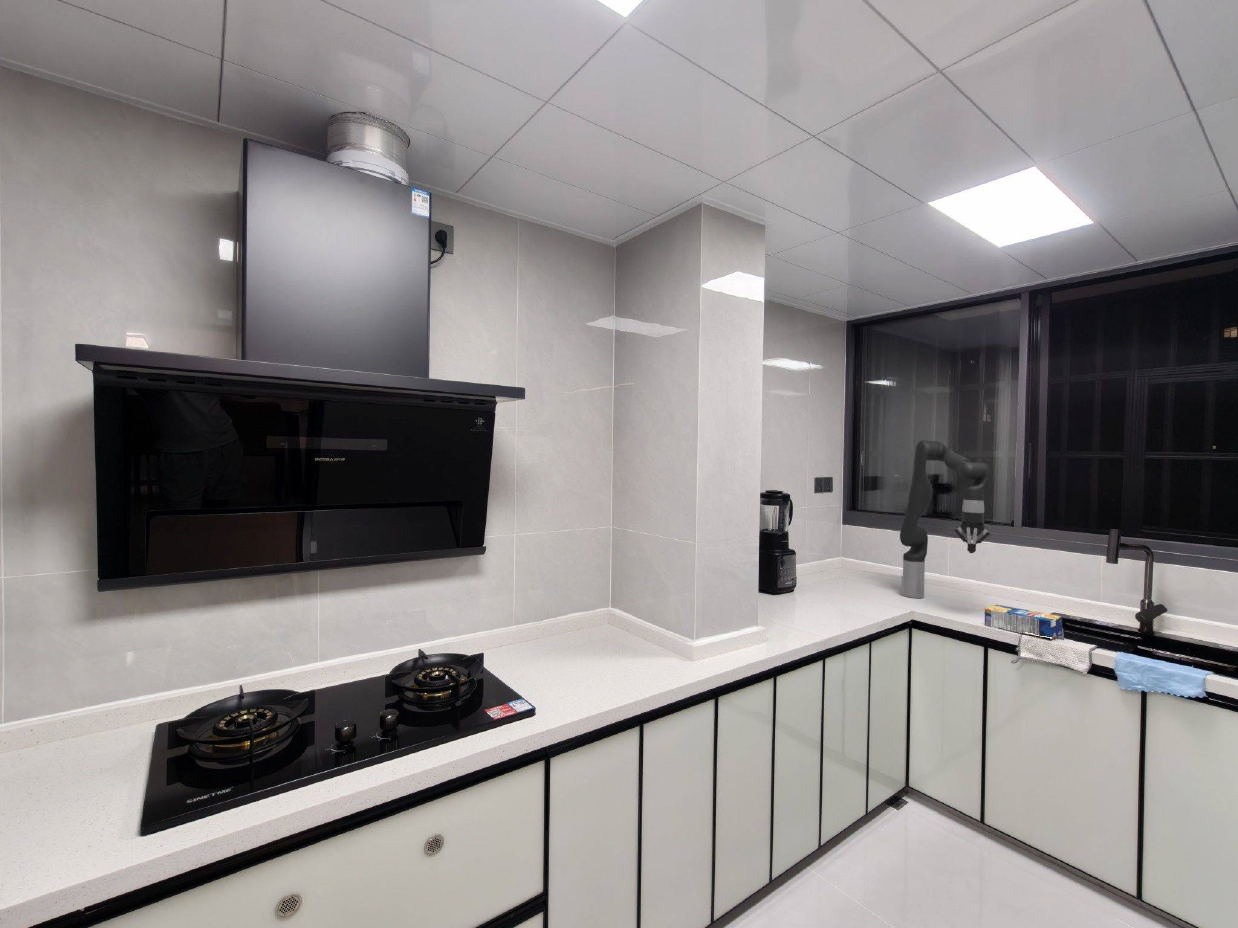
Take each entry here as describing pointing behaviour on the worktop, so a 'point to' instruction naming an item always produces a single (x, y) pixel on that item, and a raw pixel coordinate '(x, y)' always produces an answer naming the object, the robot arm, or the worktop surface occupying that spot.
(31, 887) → the worktop surface
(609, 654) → the worktop surface
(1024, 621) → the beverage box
